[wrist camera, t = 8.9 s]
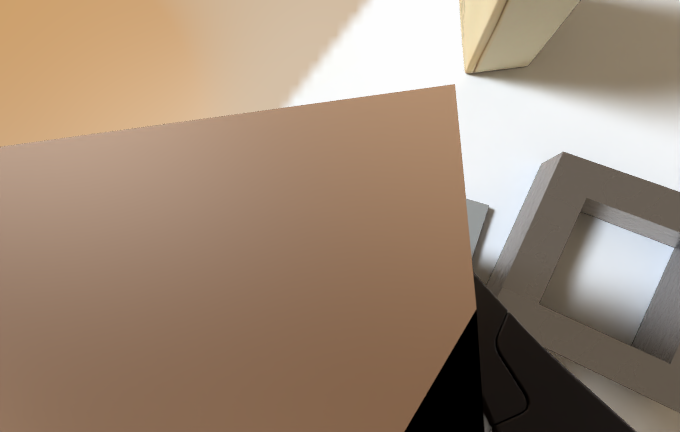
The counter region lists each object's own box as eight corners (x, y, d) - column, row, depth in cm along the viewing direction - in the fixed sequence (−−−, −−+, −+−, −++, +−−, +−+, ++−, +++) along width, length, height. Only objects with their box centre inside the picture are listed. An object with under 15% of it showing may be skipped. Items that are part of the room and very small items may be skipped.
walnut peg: (409, 312, 14) (525, 806, 2) (322, 313, 15) (-49, 653, 2) (403, 224, 15) (454, 84, 2) (319, 229, 16) (-2, 146, 3)
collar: (655, 396, 17) (700, 422, 14) (475, 310, 19) (487, 319, 16) (727, 231, 17) (784, 228, 14) (541, 163, 19) (563, 151, 17)
